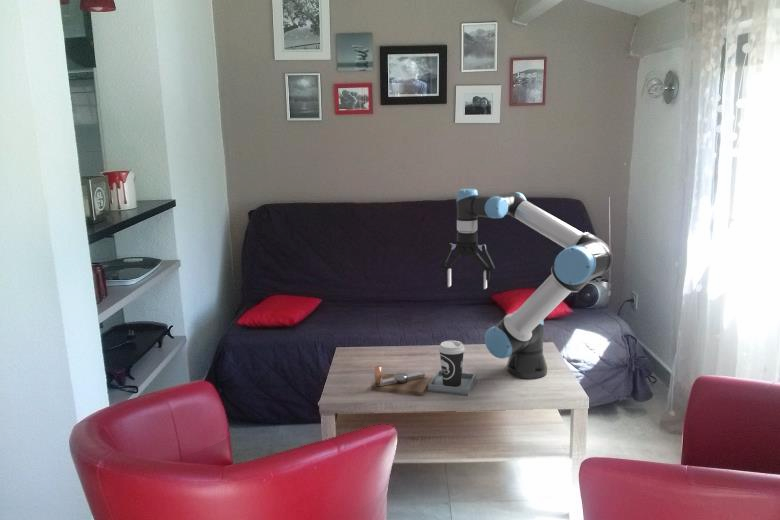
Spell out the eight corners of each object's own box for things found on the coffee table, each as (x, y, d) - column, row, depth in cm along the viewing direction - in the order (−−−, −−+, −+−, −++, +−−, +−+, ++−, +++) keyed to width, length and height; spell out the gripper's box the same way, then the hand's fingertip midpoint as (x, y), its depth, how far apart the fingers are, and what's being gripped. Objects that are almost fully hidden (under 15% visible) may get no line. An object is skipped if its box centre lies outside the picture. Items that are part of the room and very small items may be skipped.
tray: (476, 380, 233) (476, 373, 233) (467, 395, 220) (467, 389, 220) (438, 376, 238) (438, 370, 238) (427, 391, 225) (427, 384, 224)
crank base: (432, 381, 233) (432, 378, 233) (422, 396, 221) (422, 392, 221) (383, 376, 239) (383, 372, 239) (371, 390, 227) (371, 386, 227)
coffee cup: (463, 389, 223) (463, 349, 220) (437, 388, 225) (436, 348, 222) (466, 379, 233) (466, 340, 230) (440, 377, 235) (440, 339, 231)
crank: (420, 373, 236) (419, 355, 235) (426, 378, 232) (426, 360, 230) (372, 383, 228) (372, 365, 227) (378, 388, 224) (377, 369, 223)
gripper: (502, 230, 232) (502, 286, 236) (436, 228, 240) (437, 283, 244) (499, 233, 225) (499, 291, 230) (431, 231, 233) (432, 287, 237)
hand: (467, 287), depth 237 cm, fingers open, 13 cm apart
